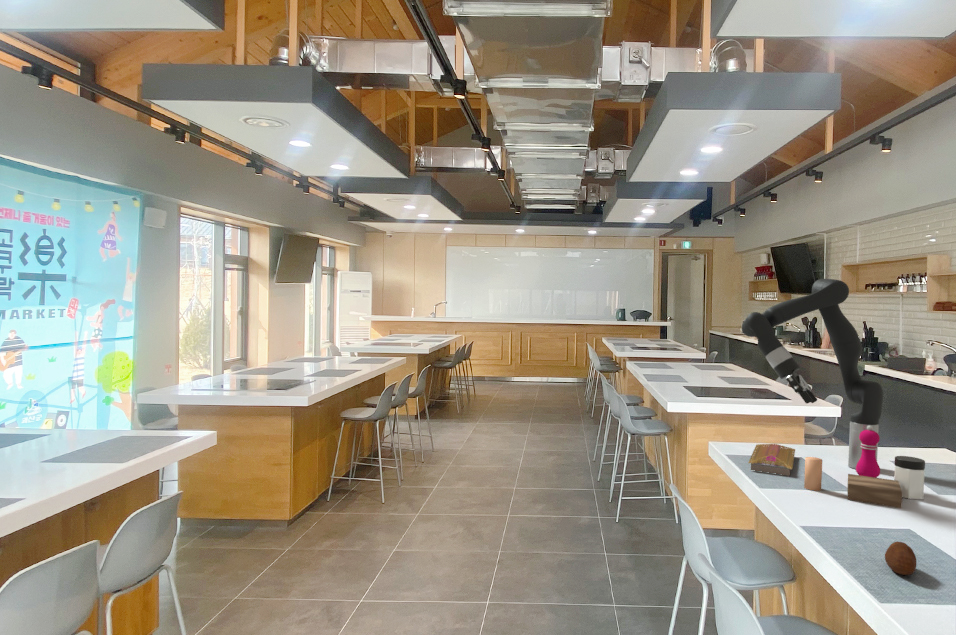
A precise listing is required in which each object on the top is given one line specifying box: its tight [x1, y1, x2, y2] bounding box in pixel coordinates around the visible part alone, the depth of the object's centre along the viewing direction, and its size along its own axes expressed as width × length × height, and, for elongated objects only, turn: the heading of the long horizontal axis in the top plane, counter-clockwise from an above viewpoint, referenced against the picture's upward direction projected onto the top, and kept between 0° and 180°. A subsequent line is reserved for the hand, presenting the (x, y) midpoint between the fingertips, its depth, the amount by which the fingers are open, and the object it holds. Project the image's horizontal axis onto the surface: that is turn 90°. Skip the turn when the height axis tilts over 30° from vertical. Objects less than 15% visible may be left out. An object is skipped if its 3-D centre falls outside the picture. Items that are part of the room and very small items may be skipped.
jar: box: [893, 455, 926, 500], centre depth 202 cm, size 9×8×12 cm
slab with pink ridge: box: [747, 443, 796, 477], centre depth 239 cm, size 35×14×6 cm, turn 151°
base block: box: [846, 473, 903, 509], centre depth 198 cm, size 14×14×5 cm
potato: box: [884, 541, 917, 576], centre depth 143 cm, size 6×12×6 cm, turn 158°
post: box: [803, 456, 823, 492], centre depth 207 cm, size 5×5×10 cm
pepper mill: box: [855, 426, 881, 478], centre depth 215 cm, size 7×7×20 cm
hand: (812, 402), depth 212 cm, fingers open, 8 cm apart
